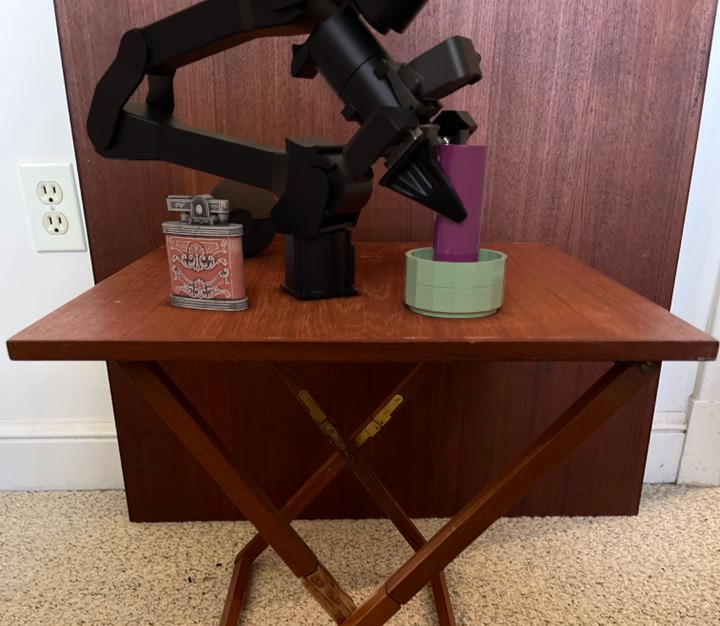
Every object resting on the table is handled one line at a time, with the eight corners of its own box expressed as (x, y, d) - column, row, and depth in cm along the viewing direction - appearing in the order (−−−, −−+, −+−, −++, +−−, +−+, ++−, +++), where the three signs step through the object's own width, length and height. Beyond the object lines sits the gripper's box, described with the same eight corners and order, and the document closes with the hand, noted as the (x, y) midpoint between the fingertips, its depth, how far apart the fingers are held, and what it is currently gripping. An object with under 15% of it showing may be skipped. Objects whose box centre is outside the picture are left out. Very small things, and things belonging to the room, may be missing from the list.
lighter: (254, 304, 69) (247, 194, 64) (238, 312, 66) (229, 197, 61) (182, 298, 71) (171, 192, 66) (164, 305, 68) (150, 194, 64)
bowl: (436, 323, 62) (440, 266, 60) (387, 302, 70) (388, 250, 67) (522, 313, 66) (528, 258, 64) (465, 294, 73) (469, 244, 71)
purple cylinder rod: (420, 288, 67) (428, 144, 61) (449, 282, 70) (458, 143, 64) (458, 296, 64) (469, 145, 59) (485, 289, 67) (498, 144, 61)
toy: (205, 263, 89) (197, 178, 85) (213, 251, 98) (207, 173, 93) (279, 262, 90) (275, 178, 85) (281, 250, 99) (277, 173, 94)
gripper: (379, -21, 51) (512, 152, 51) (465, 13, 65) (567, 147, 66) (290, 103, 57) (408, 254, 58) (386, 108, 72) (479, 229, 73)
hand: (472, 217), depth 64 cm, fingers closed on purple cylinder rod, 4 cm apart
